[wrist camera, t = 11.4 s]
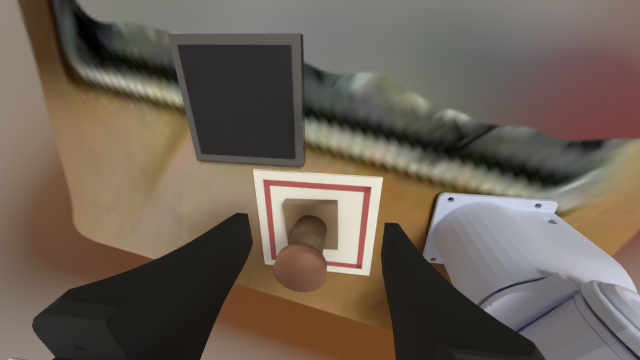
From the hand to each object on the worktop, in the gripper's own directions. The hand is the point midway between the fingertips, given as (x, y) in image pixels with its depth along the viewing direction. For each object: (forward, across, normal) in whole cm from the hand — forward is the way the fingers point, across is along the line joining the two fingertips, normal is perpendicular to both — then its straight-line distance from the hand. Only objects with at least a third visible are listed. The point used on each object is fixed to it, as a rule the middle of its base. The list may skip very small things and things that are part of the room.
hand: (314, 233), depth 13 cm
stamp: (+10, +2, +6) cm, 12 cm away
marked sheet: (+10, +2, +7) cm, 13 cm away
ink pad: (+10, +7, -5) cm, 13 cm away
